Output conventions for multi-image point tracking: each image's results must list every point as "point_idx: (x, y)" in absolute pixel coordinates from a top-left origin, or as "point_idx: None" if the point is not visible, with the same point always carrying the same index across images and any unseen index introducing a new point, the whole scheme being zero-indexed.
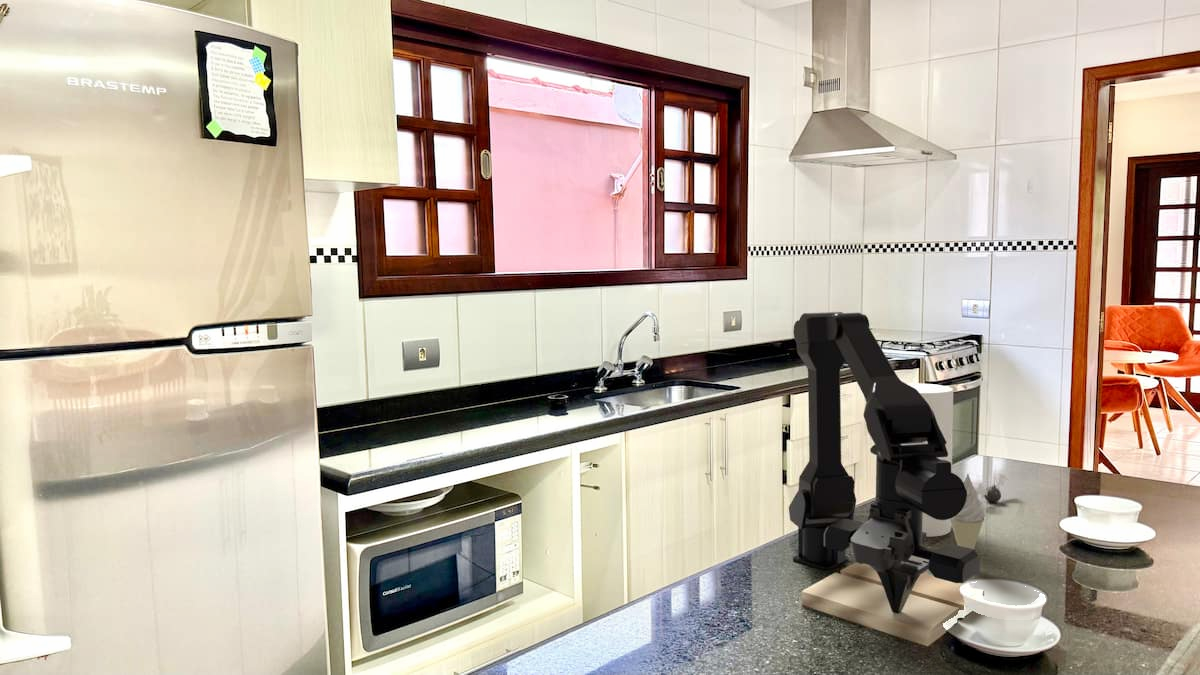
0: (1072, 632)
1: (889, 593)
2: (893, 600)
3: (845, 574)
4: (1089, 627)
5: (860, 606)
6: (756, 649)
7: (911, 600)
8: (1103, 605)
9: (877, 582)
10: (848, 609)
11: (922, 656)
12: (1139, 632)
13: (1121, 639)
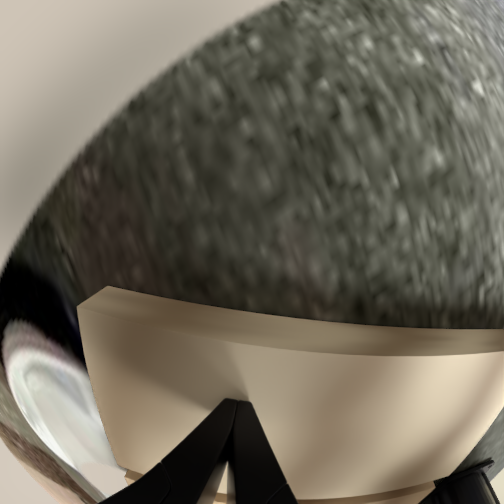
0: (30, 433)
1: (251, 460)
2: (233, 435)
3: (424, 485)
4: (33, 447)
5: (384, 380)
6: (492, 19)
7: None
8: (66, 489)
9: (351, 501)
10: (421, 347)
11: (96, 208)
12: (12, 439)
13: (4, 422)
